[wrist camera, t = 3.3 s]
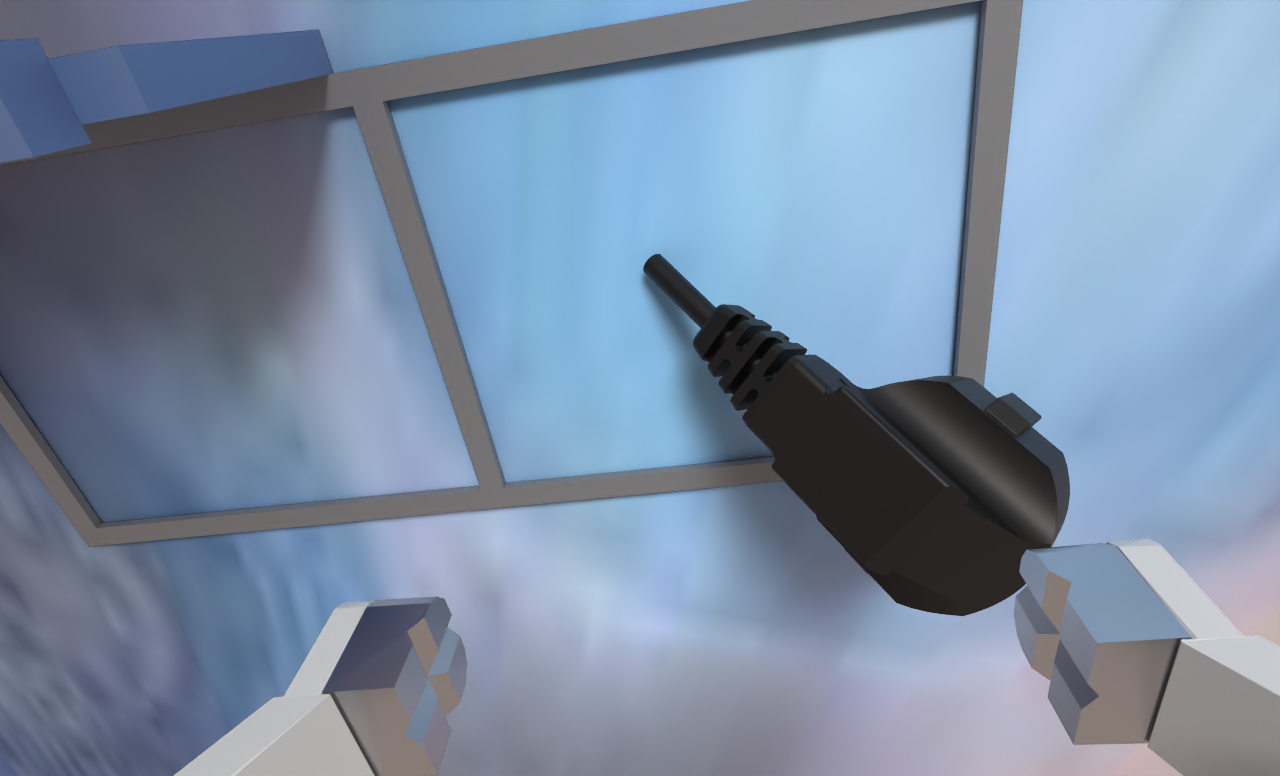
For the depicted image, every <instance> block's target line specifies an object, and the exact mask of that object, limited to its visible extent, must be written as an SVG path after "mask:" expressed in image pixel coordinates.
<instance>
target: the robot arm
mask: <svg viewBox="0 0 1280 776" xmlns="http://www.w3.org/2000/svg"><path fill="white" fill-rule="evenodd" d="M1019 572H1020V574H1021V576H1022V577H1023V579H1024V581H1025V582H1026V584H1027V586H1026V587H1025V588H1024V589H1023V590H1022V591H1021V592H1020V593H1019V594H1018V595H1016V598H1015V608H1014V619H1015V625H1016V631H1017V636H1018V639H1019V642H1020V644H1021V647H1022V650H1023V652H1024V654H1025V656H1026V658H1027V660H1028V662H1029V664H1030V666H1031V668H1033V669H1034V670H1036V671H1037V672H1039V673H1040V674H1042V675H1043V676H1044V677H1046V678H1047V679H1049V680H1050V687H1049V692H1048V699H1049V701H1050V703H1051V705H1052V706H1053V708H1054V710H1055V712H1056V714H1057V716H1058V717H1059V719H1060V721H1061V723H1062V725H1063V726H1064V728H1065V730H1066V732H1067V734H1068V736H1069V737H1070V739H1071V741H1072V743H1073V745H1086V744H1134V743H1149V744H1148V748H1150V749H1151V750H1152V751H1153V752H1155V753H1156V754H1157V755H1158V756H1160V757H1161V758H1162V759H1163V760H1165V761H1166V762H1167V763H1169V764H1170V765H1171V766H1172V767H1174V768H1175V769H1176V770H1177V771H1179V772H1180V773H1181V774H1182V775H1184V776H1280V646H1278V645H1276V644H1274V643H1272V642H1270V641H1268V640H1266V639H1264V638H1262V637H1260V636H1258V635H1254V636H1244V635H1243V634H1242V633H1241V632H1240V631H1239V630H1238V629H1237V627H1236V626H1235V625H1234V624H1233V623H1232V622H1231V621H1230V620H1229V619H1228V618H1227V617H1226V616H1225V614H1224V613H1223V612H1222V611H1221V610H1220V609H1219V608H1218V607H1217V606H1216V605H1215V604H1214V603H1213V601H1212V600H1211V599H1210V598H1209V597H1208V596H1207V595H1206V594H1205V593H1204V592H1203V591H1202V589H1201V588H1200V587H1199V586H1198V585H1197V584H1196V583H1195V582H1194V581H1193V580H1192V579H1191V578H1190V576H1189V575H1188V574H1187V573H1186V572H1185V571H1184V570H1183V569H1182V568H1181V567H1180V566H1179V564H1178V563H1177V562H1176V561H1175V560H1174V559H1173V558H1172V557H1171V556H1170V555H1169V554H1168V553H1167V551H1166V550H1165V549H1164V548H1163V547H1162V546H1161V545H1160V544H1159V543H1157V542H1155V541H1153V540H1151V539H1138V540H1127V541H1116V542H1108V543H1106V544H1105V543H1096V544H1085V545H1074V546H1062V547H1051V548H1040V549H1028V550H1026V551H1025V553H1024V555H1023V556H1022V558H1021V564H1020V570H1019ZM451 615H452V614H451V612H450V610H449V608H448V606H447V603H446V601H445V599H443V598H440V597H424V598H405V599H386V600H375V601H363V602H344V603H342V604H341V605H339V606H338V607H337V608H335V609H334V611H333V612H332V614H331V616H330V617H329V619H328V621H327V622H326V624H325V626H324V628H323V629H322V631H321V633H320V634H319V636H318V638H317V640H316V641H315V643H314V645H313V646H312V648H311V650H310V652H309V653H308V655H307V657H306V659H305V660H304V662H303V664H302V665H301V667H300V669H299V671H298V672H297V674H296V676H295V677H294V679H293V681H292V683H291V684H290V686H289V688H288V689H287V691H286V693H285V695H284V696H283V697H274V698H272V699H271V700H270V701H268V702H267V703H266V704H264V705H263V706H262V707H261V708H259V709H258V710H257V711H255V712H254V713H253V714H252V715H250V716H249V717H248V718H247V719H245V720H244V721H243V722H241V723H240V724H239V725H238V726H236V727H235V728H234V729H232V730H231V731H230V732H229V733H227V734H226V735H225V736H224V737H222V738H221V739H220V740H218V741H217V742H216V743H215V744H213V745H212V746H211V747H209V748H208V749H207V750H206V751H204V752H203V753H202V754H201V755H199V756H198V757H197V758H195V759H194V760H193V761H192V762H190V763H189V764H188V765H186V766H185V767H184V768H183V769H181V770H180V771H179V772H178V773H176V774H175V775H174V776H432V775H437V773H438V769H439V766H440V763H441V760H442V757H443V754H444V751H445V748H446V745H447V741H448V738H449V735H450V732H451V729H450V727H449V725H448V722H447V720H446V718H445V717H446V716H447V715H448V714H449V713H450V712H451V711H452V710H453V709H454V708H455V707H456V706H457V705H458V704H459V703H460V700H461V697H462V693H463V690H464V687H465V681H466V668H467V661H466V654H465V648H464V645H463V643H462V640H461V637H460V636H459V635H458V634H456V633H455V632H453V631H452V630H451V629H449V628H448V627H447V626H448V623H449V621H450V618H451Z"/></svg>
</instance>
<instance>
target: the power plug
mask: <svg viewBox="0 0 1280 776" xmlns="http://www.w3.org/2000/svg"><path fill="white" fill-rule="evenodd" d="M643 270H644V272H645V273H646V274H647V275H648V276H649V277H650V278H651V279H652V280H653V281H654V282H655V283H656V284H657V285H658V286H659V287H660V288H661V289H662V290H663V291H664V292H665V293H666V294H667V295H668V296H669V297H670V298H671V299H672V300H673V301H674V302H675V303H676V304H677V305H678V306H679V307H680V308H681V309H682V310H683V311H684V312H685V313H686V314H687V315H688V316H689V317H690V318H691V319H692V320H693V321H694V322H695V323H696V324H697V325H698V326H699V327H700V328H701V330H700V331H699V332H698V334H697V335H696V337H695V338H694V340H693V346H694V348H695V350H696V351H697V353H698V354H699V356H700V357H701V359H702V360H704V361H708V362H710V363H709V364H708V369H709V371H710V372H711V374H712V375H713V376H714V377H718V376H723V377H722V378H721V380H720V381H719V385H720V387H721V388H722V390H723V391H724V393H732V394H733V396H732V398H731V400H730V402H731V403H732V405H733V406H734V408H735V409H736V410H737V411H738V410H744V409H748V410H747V411H746V412H745V414H744V415H743V417H742V419H743V421H744V422H745V424H746V425H747V427H748V428H749V429H750V430H751V431H752V432H753V433H754V434H755V435H756V436H757V437H758V438H759V439H760V440H761V441H762V442H763V443H764V444H765V445H766V446H767V447H768V448H769V449H770V451H771V452H772V454H773V456H774V458H775V461H774V462H773V463H772V469H773V470H774V471H775V472H776V473H777V474H778V475H779V476H780V477H781V479H782V480H783V481H784V482H785V483H786V484H787V485H788V486H789V487H790V488H791V489H792V490H793V491H794V492H795V493H796V494H797V495H798V496H799V497H800V498H801V499H802V501H803V502H804V503H805V504H806V505H807V506H808V507H809V508H810V509H811V510H812V511H813V512H814V513H815V514H816V516H817V520H818V521H819V522H820V523H821V524H822V525H823V526H824V527H825V528H826V529H827V530H828V531H829V532H830V533H831V534H832V535H833V536H834V537H835V538H836V540H837V541H838V542H839V543H840V544H841V545H842V546H843V547H844V549H845V550H846V551H847V552H848V553H849V555H850V556H851V557H852V558H853V559H854V560H855V561H856V562H857V563H858V564H859V565H860V566H861V567H862V568H863V569H864V570H865V571H866V572H867V573H868V574H870V575H871V576H872V578H873V579H874V580H875V581H876V582H877V583H878V584H879V585H880V586H881V587H882V588H883V589H884V590H885V591H886V592H887V593H888V594H889V595H890V596H891V598H892V599H893V600H894V601H895V602H896V603H899V604H902V605H904V606H907V607H910V608H914V609H918V610H922V611H926V612H932V613H939V614H946V615H957V616H965V615H968V614H972V613H975V612H978V611H981V610H983V609H986V608H989V607H991V606H993V605H995V604H997V603H999V602H1001V601H1003V600H1005V599H1006V598H1008V597H1010V596H1011V595H1013V594H1014V593H1015V592H1017V591H1018V590H1019V589H1021V588H1022V587H1023V586H1024V585H1025V584H1026V582H1025V581H1024V579H1023V577H1022V576H1021V574H1020V572H1019V570H1020V564H1021V558H1022V556H1023V555H1024V553H1025V551H1026V550H1028V549H1040V548H1051V547H1052V545H1053V543H1054V541H1055V539H1056V537H1057V535H1058V533H1059V532H1060V530H1061V527H1062V525H1063V523H1064V520H1065V517H1066V514H1067V510H1068V505H1069V496H1070V483H1069V475H1068V468H1067V464H1066V461H1065V458H1064V455H1063V453H1062V452H1061V451H1060V450H1059V449H1058V448H1056V447H1055V446H1054V445H1053V444H1052V443H1050V442H1049V441H1048V440H1047V439H1045V438H1044V437H1043V436H1042V435H1041V434H1039V433H1038V432H1037V431H1036V430H1035V429H1033V428H1032V426H1033V425H1034V424H1035V423H1036V422H1038V421H1039V420H1040V419H1041V415H1039V414H1038V413H1037V412H1036V411H1035V410H1033V409H1032V408H1031V407H1030V406H1028V405H1027V404H1026V403H1025V402H1023V401H1022V400H1021V399H1020V398H1019V397H1017V396H1016V395H1015V394H1014V393H1010V394H1007V395H1005V396H1002V397H999V398H996V397H995V396H993V395H992V394H991V393H990V392H989V391H987V390H986V389H985V388H984V387H983V386H981V385H980V384H979V383H978V382H977V381H975V380H974V379H973V378H967V377H961V376H934V377H928V378H922V379H916V380H910V381H904V382H897V383H892V384H888V385H884V386H881V387H877V388H873V389H862V388H859V387H857V386H855V385H854V384H853V383H851V382H850V381H849V380H848V379H847V378H846V377H845V376H844V375H843V374H841V373H840V372H839V371H838V370H836V369H835V368H834V367H832V366H831V365H830V364H829V363H827V362H826V361H824V360H823V359H821V358H820V357H818V356H817V355H805V353H806V351H807V349H806V348H804V347H803V346H801V345H800V344H798V343H791V342H789V337H787V336H786V335H784V334H783V333H781V332H779V331H770V330H771V328H772V326H770V325H769V324H767V323H766V322H764V321H762V320H757V319H755V315H753V314H752V313H750V312H749V311H747V310H746V309H744V308H743V307H741V306H737V305H725V304H724V305H719V306H718V307H717V308H716V307H715V306H714V305H713V304H711V303H710V302H709V301H708V300H707V299H706V298H705V297H704V296H703V295H702V294H701V293H700V292H699V291H698V290H697V289H696V288H695V287H694V286H693V285H692V284H691V283H690V282H689V281H687V280H686V279H685V278H684V277H683V276H682V275H681V274H680V273H679V272H678V271H677V270H676V269H675V268H674V267H673V266H672V265H671V264H670V263H669V262H668V261H667V260H666V259H664V258H663V257H662V256H661V255H660V254H655V255H653V256H652V257H650V258H649V259H648V260H647V262H646V263H645V265H644V269H643Z"/></svg>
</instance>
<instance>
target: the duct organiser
mask: <svg viewBox="0 0 1280 776" xmlns="http://www.w3.org/2000/svg"><path fill="white" fill-rule="evenodd" d="M975 1H981V0H751V1H745V2H740V3H734V4H728V5H722V6H717V7H711V8H705V9H700V10H694V11H688V12H682V13H677V14H671V15H665V16H660V17H654V18H648V19H642V20H637V21H631V22H625V23H620V24H614V25H608V26H602V27H597V28H591V29H585V30H580V31H574V32H568V33H562V34H557V35H551V36H545V37H540V38H534V39H528V40H522V41H517V42H511V43H505V44H500V45H494V46H488V47H482V48H477V49H471V50H465V51H460V52H454V53H448V54H442V55H437V56H431V57H425V58H420V59H414V60H408V61H402V62H397V63H391V64H385V65H380V66H374V67H368V68H363V69H357V70H351V71H345V72H340V73H333V70H332V67H331V64H330V61H329V59H328V56H327V53H326V50H325V47H324V44H323V41H322V38H321V35H320V32H319V30H309V31H296V32H284V33H272V34H260V35H247V36H235V37H223V38H210V39H198V40H186V41H174V42H161V43H149V44H137V45H124V46H116V47H110V48H105V49H100V50H94V51H89V52H84V53H78V54H73V55H68V56H62V57H57V58H52V59H48V58H47V56H46V54H45V52H44V50H43V48H42V46H41V44H40V43H39V41H38V39H37V38H36V39H19V40H2V41H0V166H2V165H8V164H14V163H20V162H26V161H32V160H38V159H44V158H50V157H56V156H61V155H67V154H73V153H79V152H85V151H91V150H97V149H103V148H109V147H115V146H121V145H127V144H133V143H139V142H144V141H150V140H156V139H162V138H168V137H174V136H180V135H186V134H192V133H198V132H204V131H210V130H216V129H222V128H228V127H233V126H239V125H245V124H251V123H257V122H263V121H269V120H275V119H281V118H287V117H293V116H299V115H305V114H311V113H316V112H322V111H328V110H334V109H340V108H346V107H352V106H353V108H354V111H355V114H356V117H357V120H358V123H359V126H360V129H361V132H362V135H363V138H364V141H365V144H366V147H367V150H368V153H369V156H370V159H371V162H372V165H373V168H374V171H375V174H376V177H377V180H378V183H379V186H380V189H381V192H382V195H383V198H384V201H385V204H386V207H387V210H388V213H389V216H390V219H391V222H392V225H393V228H394V231H395V234H396V237H397V240H398V243H399V246H400V249H401V252H402V255H403V258H404V261H405V264H406V267H407V270H408V273H409V276H410V279H411V282H412V285H413V288H414V291H415V294H416V297H417V300H418V303H419V306H420V309H421V312H422V315H423V318H424V321H425V324H426V327H427V330H428V333H429V336H430V339H431V342H432V345H433V348H434V351H435V354H436V357H437V360H438V363H439V366H440V369H441V372H442V375H443V378H444V381H445V384H446V387H447V390H448V393H449V396H450V399H451V402H452V405H453V408H454V411H455V414H456V417H457V420H458V423H459V426H460V429H461V432H462V435H463V438H464V441H465V444H466V447H467V450H468V453H469V456H470V459H471V462H472V464H473V467H474V470H475V473H476V476H477V479H478V482H479V485H480V486H471V487H461V488H451V489H441V490H431V491H421V492H411V493H401V494H391V495H381V496H370V497H360V498H350V499H340V500H330V501H320V502H310V503H300V504H290V505H280V506H269V507H259V508H249V509H239V510H229V511H219V512H209V513H199V514H189V515H179V516H168V517H158V518H148V519H138V520H128V521H118V522H108V523H102V522H101V520H100V519H99V518H98V516H97V515H96V513H95V512H94V510H93V509H92V507H91V506H90V505H89V503H88V502H87V500H86V499H85V497H84V496H83V494H82V493H81V491H80V490H79V489H78V487H77V486H76V484H75V483H74V481H73V480H72V478H71V477H70V476H69V474H68V473H67V471H66V470H65V468H64V467H63V465H62V464H61V462H60V461H59V460H58V458H57V457H56V455H55V454H54V452H53V451H52V449H51V448H50V447H49V445H48V444H47V442H46V441H45V439H44V438H43V436H42V435H41V433H40V432H39V431H38V429H37V428H36V426H35V425H34V423H33V422H32V420H31V419H30V418H29V416H28V415H27V413H26V412H25V410H24V409H23V407H22V406H21V404H20V403H19V402H18V400H17V399H16V397H15V396H14V394H13V393H12V391H11V390H10V389H9V387H8V386H7V384H6V383H5V381H4V380H3V378H2V377H1V375H0V424H1V425H2V427H3V428H4V430H5V431H6V432H7V434H8V435H9V437H10V438H11V439H12V441H13V442H14V444H15V445H16V446H17V448H18V449H19V450H20V452H21V453H22V455H23V456H24V457H25V459H26V460H27V462H28V463H29V464H30V466H31V467H32V469H33V470H34V471H35V473H36V474H37V476H38V477H39V478H40V480H41V481H42V483H43V484H44V485H45V487H46V488H47V489H48V491H49V492H50V494H51V495H52V496H53V498H54V499H55V501H56V502H57V503H58V505H59V506H60V508H61V509H62V510H63V512H64V513H65V515H66V516H67V517H68V519H69V520H70V522H71V523H72V524H73V526H74V527H75V529H76V530H77V531H78V533H79V534H80V535H81V537H82V538H83V540H84V541H85V542H86V544H87V545H88V547H91V546H102V545H112V544H123V543H133V542H144V541H154V540H165V539H175V538H186V537H196V536H207V535H217V534H228V533H239V532H249V531H260V530H270V529H281V528H291V527H302V526H312V525H323V524H333V523H344V522H355V521H365V520H376V519H386V518H397V517H407V516H418V515H428V514H439V513H449V512H460V511H471V510H481V509H492V508H502V507H513V506H523V505H534V504H544V503H555V502H565V501H576V500H586V499H597V498H608V497H618V496H629V495H639V494H650V493H660V492H671V491H681V490H692V489H702V488H713V487H724V486H734V485H745V484H755V483H766V482H776V481H783V480H782V479H781V477H780V476H779V475H778V474H777V473H776V472H775V471H774V470H773V469H772V463H773V462H774V461H775V458H774V457H764V458H754V459H744V460H734V461H724V462H714V463H704V464H694V465H684V466H673V467H663V468H653V469H643V470H633V471H623V472H613V473H603V474H593V475H583V476H572V477H562V478H552V479H542V480H532V481H522V482H512V483H506V482H505V479H504V476H503V473H502V470H501V466H500V463H499V460H498V457H497V453H496V450H495V447H494V444H493V441H492V437H491V434H490V431H489V428H488V424H487V421H486V418H485V415H484V412H483V408H482V405H481V402H480V399H479V395H478V392H477V389H476V386H475V383H474V379H473V376H472V373H471V370H470V366H469V363H468V360H467V357H466V354H465V350H464V347H463V344H462V341H461V337H460V334H459V331H458V328H457V325H456V321H455V318H454V315H453V312H452V308H451V305H450V302H449V299H448V296H447V292H446V289H445V286H444V283H443V279H442V276H441V273H440V270H439V267H438V263H437V260H436V257H435V254H434V250H433V247H432V244H431V241H430V238H429V234H428V231H427V228H426V225H425V221H424V218H423V215H422V212H421V209H420V205H419V202H418V199H417V196H416V192H415V189H414V186H413V183H412V180H411V176H410V173H409V170H408V167H407V163H406V160H405V157H404V154H403V151H402V147H401V144H400V141H399V138H398V134H397V131H396V128H395V125H394V122H393V118H392V115H391V112H390V109H389V105H388V102H387V101H388V100H394V99H400V98H405V97H411V96H417V95H423V94H429V93H435V92H441V91H447V90H453V89H459V88H465V87H471V86H477V85H483V84H488V83H494V82H500V81H506V80H512V79H518V78H524V77H530V76H536V75H542V74H548V73H554V72H560V71H566V70H571V69H577V68H583V67H589V66H595V65H601V64H607V63H613V62H619V61H625V60H631V59H637V58H643V57H649V56H655V55H660V54H666V53H672V52H678V51H684V50H690V49H696V48H702V47H708V46H714V45H720V44H726V43H732V42H738V41H743V40H749V39H755V38H761V37H767V36H773V35H779V34H785V33H791V32H797V31H803V30H809V29H815V28H821V27H827V26H832V25H838V24H844V23H850V22H856V21H862V20H868V19H874V18H880V17H886V16H892V15H898V14H904V13H910V12H915V11H921V10H927V9H933V8H939V7H945V6H951V5H957V4H963V3H969V2H975ZM1022 7H1023V0H982V8H981V21H980V34H979V47H978V60H977V73H976V86H975V99H974V112H973V125H972V138H971V152H970V165H969V178H968V191H967V204H966V217H965V230H964V243H963V256H962V269H961V282H960V295H959V308H958V321H957V334H956V347H955V361H954V374H953V376H961V377H967V378H973V379H974V380H975V381H977V382H978V383H979V384H980V385H981V386H983V387H984V380H985V370H986V360H987V350H988V340H989V330H990V321H991V311H992V301H993V291H994V281H995V272H996V262H997V252H998V242H999V232H1000V223H1001V213H1002V203H1003V193H1004V183H1005V174H1006V164H1007V154H1008V144H1009V134H1010V124H1011V115H1012V105H1013V95H1014V85H1015V75H1016V66H1017V56H1018V46H1019V36H1020V26H1021V17H1022Z"/></svg>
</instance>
